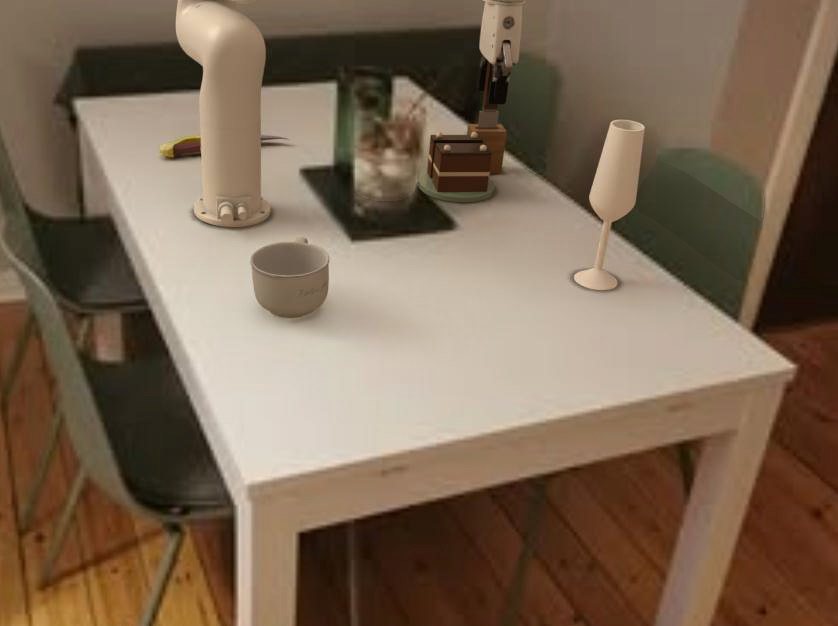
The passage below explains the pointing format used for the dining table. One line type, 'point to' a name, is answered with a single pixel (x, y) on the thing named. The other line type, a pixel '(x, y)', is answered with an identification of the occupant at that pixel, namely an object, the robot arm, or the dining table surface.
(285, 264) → the teacup
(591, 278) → the champagne flute
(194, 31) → the robot arm
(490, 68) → the cake knife
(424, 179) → the cake plate
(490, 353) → the dining table surface
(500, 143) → the knife holder
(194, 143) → the knife
